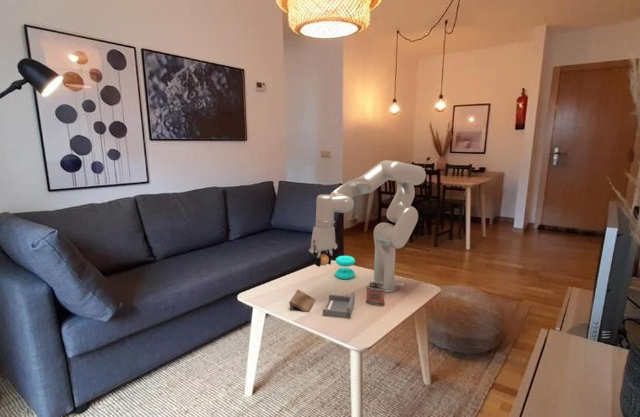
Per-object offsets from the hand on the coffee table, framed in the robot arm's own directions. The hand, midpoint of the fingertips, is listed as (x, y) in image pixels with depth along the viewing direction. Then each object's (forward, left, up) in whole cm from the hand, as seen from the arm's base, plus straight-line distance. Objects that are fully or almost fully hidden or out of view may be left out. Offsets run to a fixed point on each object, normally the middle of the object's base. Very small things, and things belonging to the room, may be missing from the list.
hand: (322, 264), depth 153 cm
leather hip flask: (-23, -1, -17) cm, 28 cm away
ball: (0, 0, 0) cm, 0 cm away
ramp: (+7, +7, -16) cm, 19 cm away
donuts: (-6, -29, -17) cm, 34 cm away
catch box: (-9, +7, -16) cm, 20 cm away
